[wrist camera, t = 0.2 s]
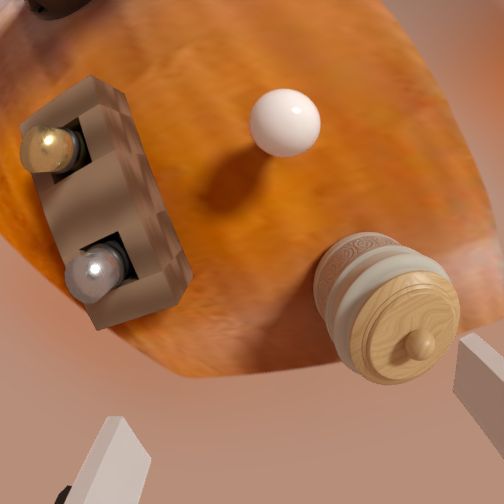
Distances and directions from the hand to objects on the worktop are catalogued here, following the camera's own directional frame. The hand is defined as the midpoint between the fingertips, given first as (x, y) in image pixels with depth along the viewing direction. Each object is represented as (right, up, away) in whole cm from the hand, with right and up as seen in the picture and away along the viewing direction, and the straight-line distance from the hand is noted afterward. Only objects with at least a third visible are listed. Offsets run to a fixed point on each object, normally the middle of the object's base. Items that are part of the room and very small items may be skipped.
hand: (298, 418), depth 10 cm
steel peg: (-15, +5, +21) cm, 27 cm away
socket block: (-17, +12, +25) cm, 33 cm away
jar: (+12, +2, +28) cm, 31 cm away
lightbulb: (+1, +19, +24) cm, 31 cm away
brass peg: (-20, +16, +18) cm, 31 cm away
